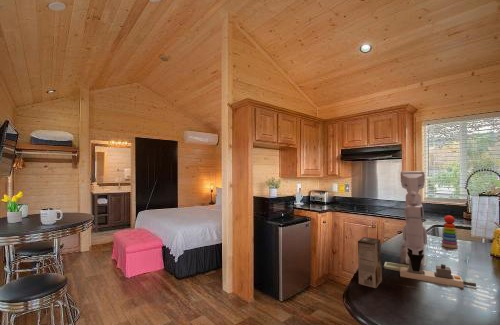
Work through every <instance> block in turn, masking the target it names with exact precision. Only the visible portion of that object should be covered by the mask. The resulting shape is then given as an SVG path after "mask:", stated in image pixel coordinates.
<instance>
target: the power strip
mask: <svg viewBox="0 0 500 325" xmlns="http://www.w3.org/2000/svg"><path fill="white" fill-rule="evenodd" d="M399 275H400V278H407V279H413V280H419V281H425V282H429V283H436V284H442V285H447V286H453V287H458V288H459V289H464V288H465V287H464V286H469V287H474V288H475V287H477V283H476V282H470V281H464V280H463V279H462V277H461V275H455V274H451V279H446V278H440V277H436V271H429V270H424V269H422V274H416V273H410V272H409V268H406V267H401V268H400V271H399Z"/></svg>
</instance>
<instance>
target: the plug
mask: <svg viewBox="0 0 500 325" xmlns="http://www.w3.org/2000/svg"><path fill="white" fill-rule="evenodd" d="M408 265H409V272H410V273H416V274H422V270H423V266H422V262H421V265H420V270H419V272H418V271H413V269H412V265H411V261H410V259H409V264H408Z"/></svg>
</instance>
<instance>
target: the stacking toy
mask: <svg viewBox="0 0 500 325" xmlns="http://www.w3.org/2000/svg"><path fill="white" fill-rule="evenodd" d="M443 220H444V222H445V223H444V224H443V230H442V232H443V233H442V237H441V238H442V239H441V246H442V247H444V248H448V249H449V248H450V249H457V248H458V247H459V245H458V238H457V231H456V225H455V224H454V223H455V222H456V219H455V217H454V216H452V215H445V216H444V219H443Z"/></svg>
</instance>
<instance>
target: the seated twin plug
mask: <svg viewBox="0 0 500 325" xmlns="http://www.w3.org/2000/svg"><path fill="white" fill-rule="evenodd" d="M435 272H436V277H440V278H446V279H451V275H452V270H451V268H450V267H449V266H446V264H443V263H441V264H440V265H437V264H436V265H435Z"/></svg>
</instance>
